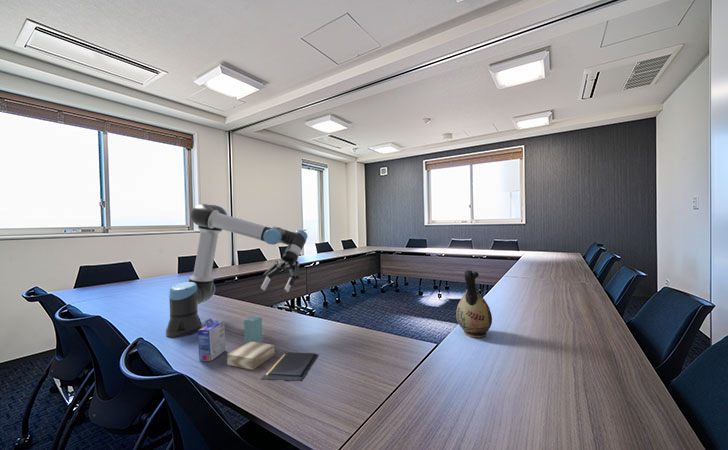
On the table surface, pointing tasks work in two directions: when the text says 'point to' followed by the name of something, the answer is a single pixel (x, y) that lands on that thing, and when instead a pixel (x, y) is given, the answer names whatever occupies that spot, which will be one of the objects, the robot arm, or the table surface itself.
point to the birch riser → (250, 355)
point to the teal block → (253, 329)
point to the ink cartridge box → (211, 340)
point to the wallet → (291, 367)
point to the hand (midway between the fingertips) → (274, 289)
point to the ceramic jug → (473, 309)
